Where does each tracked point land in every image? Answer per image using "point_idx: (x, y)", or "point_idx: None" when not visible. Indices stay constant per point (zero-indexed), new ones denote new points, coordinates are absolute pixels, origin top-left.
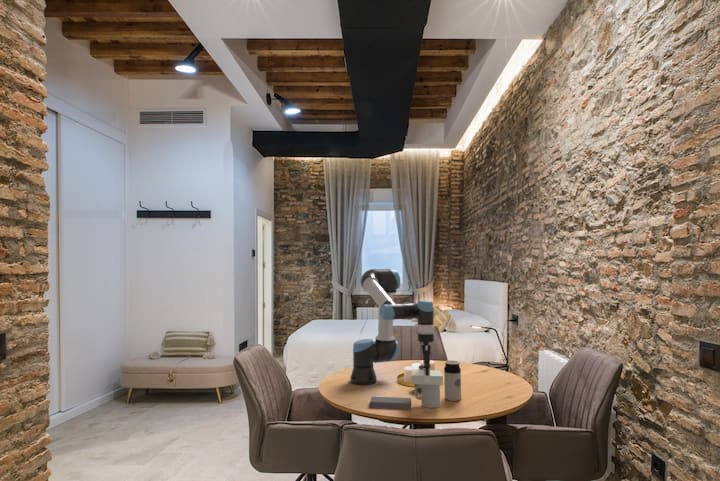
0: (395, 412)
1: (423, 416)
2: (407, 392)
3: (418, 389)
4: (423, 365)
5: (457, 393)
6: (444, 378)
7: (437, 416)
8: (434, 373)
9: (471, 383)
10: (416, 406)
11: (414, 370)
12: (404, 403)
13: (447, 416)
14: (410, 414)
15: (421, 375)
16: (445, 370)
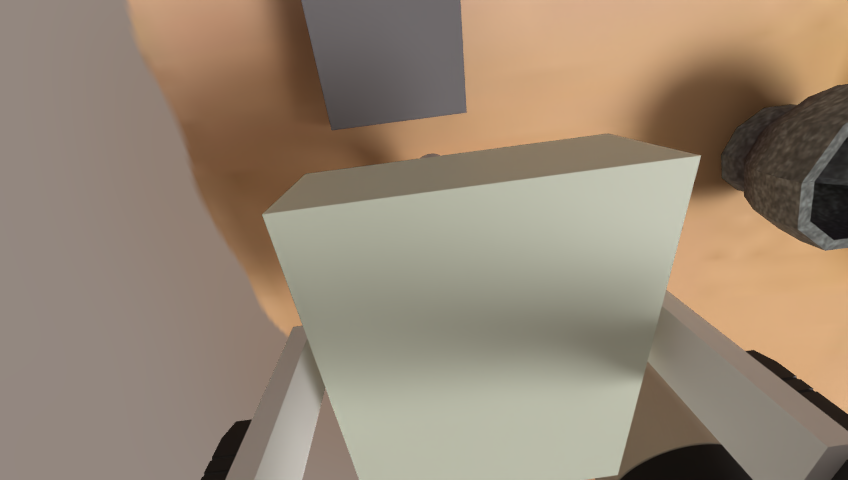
0: (214, 7)
1: (231, 218)
2: (728, 39)
3: (752, 130)
4: (738, 375)
5: None
6: (646, 389)
7: (267, 285)
8: (471, 447)
9: (815, 382)
10: (400, 154)
11: (634, 210)
12: (319, 71)
13: (289, 326)
14: (227, 135)
15: (321, 346)
16: (671, 474)
